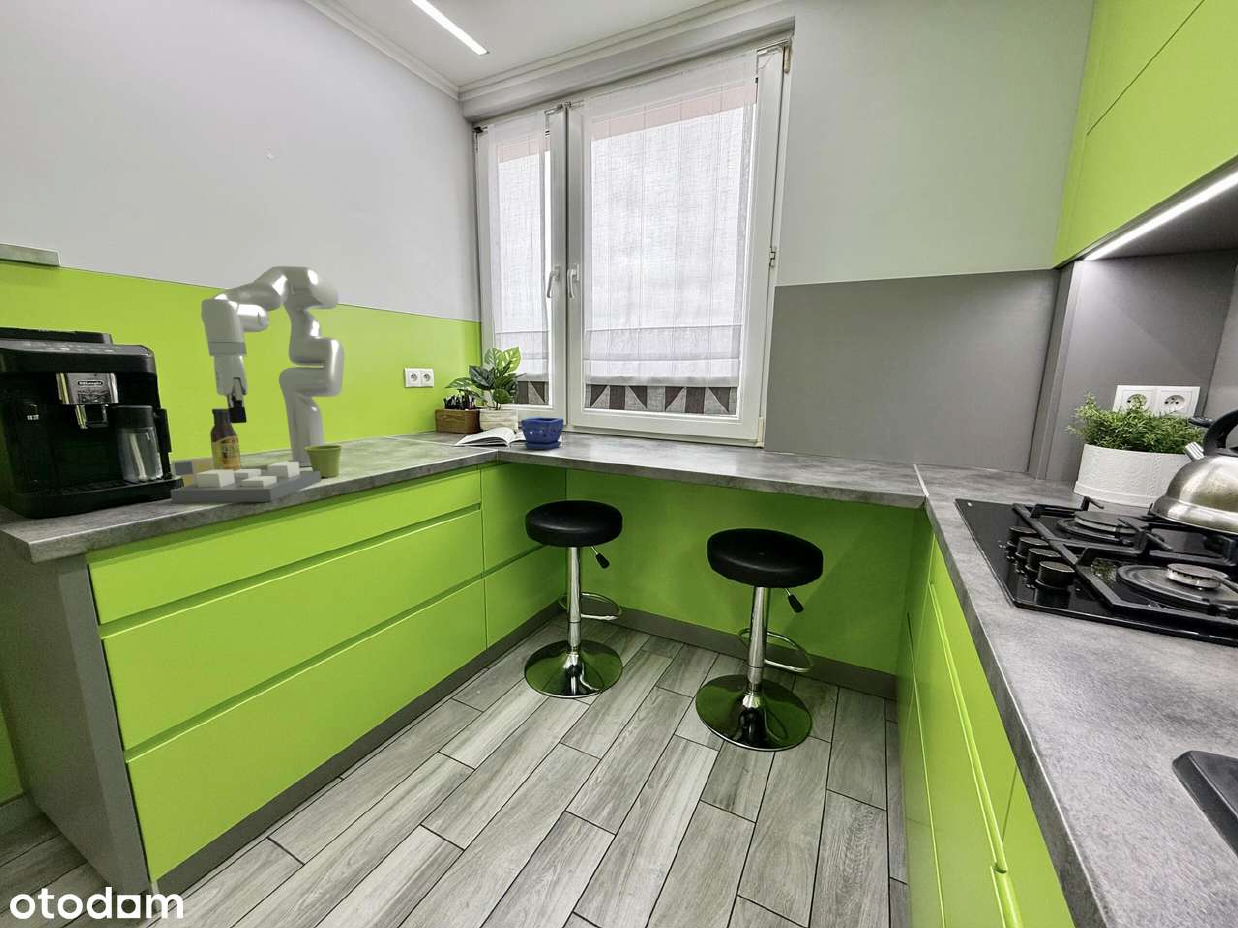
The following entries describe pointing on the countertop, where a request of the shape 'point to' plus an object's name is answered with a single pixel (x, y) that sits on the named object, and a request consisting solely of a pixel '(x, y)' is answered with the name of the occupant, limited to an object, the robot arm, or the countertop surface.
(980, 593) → the countertop surface
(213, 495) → the button board
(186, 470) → the card
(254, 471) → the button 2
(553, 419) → the flower pot
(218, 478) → the button
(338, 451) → the plant pot
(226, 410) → the sauce bottle
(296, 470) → the button
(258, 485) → the button
